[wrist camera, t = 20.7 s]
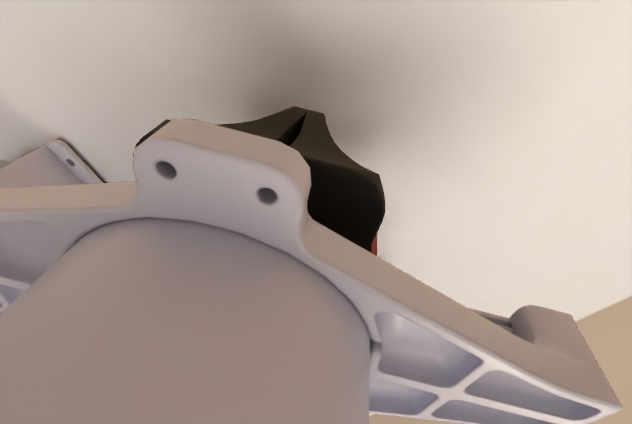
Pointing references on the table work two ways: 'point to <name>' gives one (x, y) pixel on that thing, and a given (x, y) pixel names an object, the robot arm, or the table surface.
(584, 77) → the table surface
